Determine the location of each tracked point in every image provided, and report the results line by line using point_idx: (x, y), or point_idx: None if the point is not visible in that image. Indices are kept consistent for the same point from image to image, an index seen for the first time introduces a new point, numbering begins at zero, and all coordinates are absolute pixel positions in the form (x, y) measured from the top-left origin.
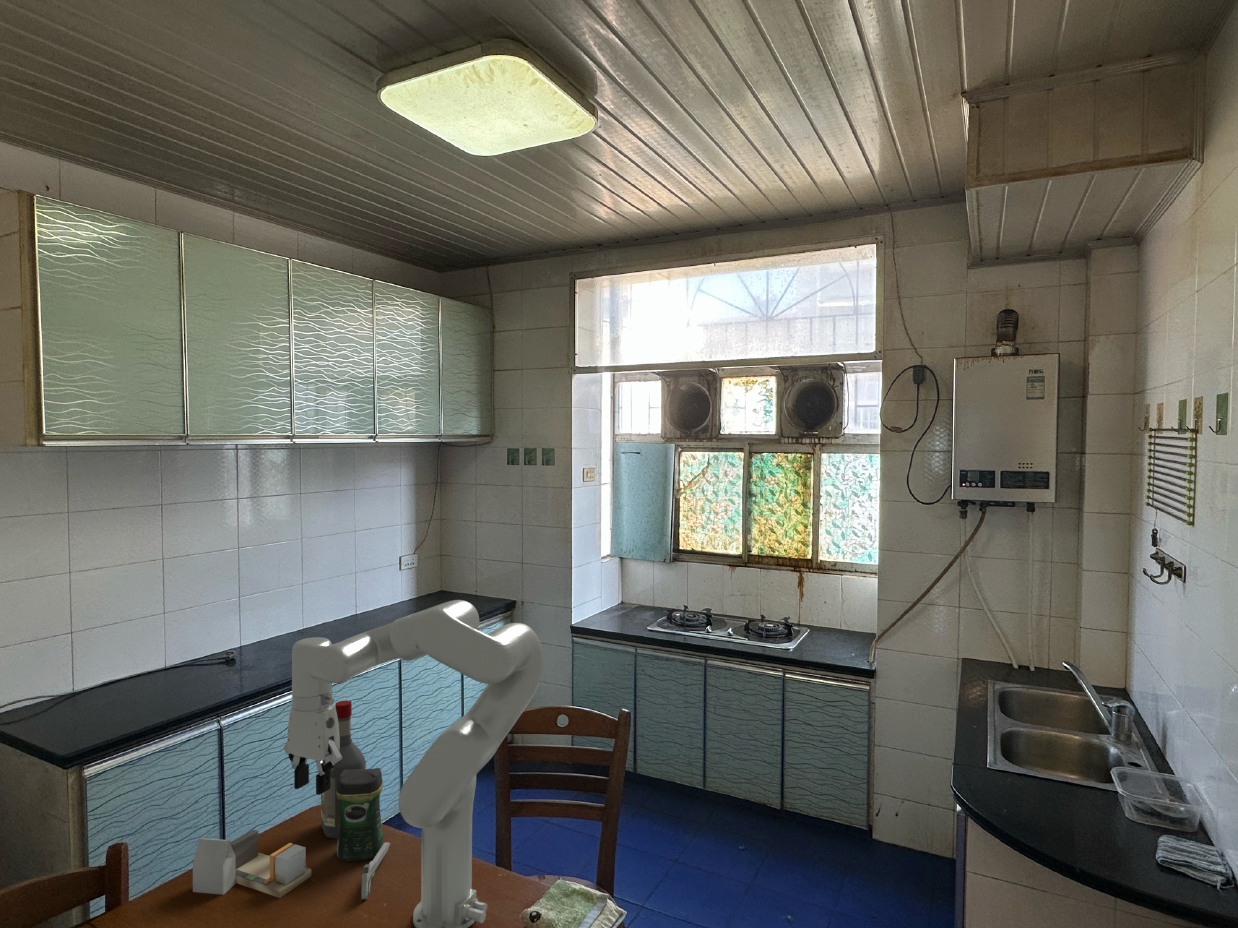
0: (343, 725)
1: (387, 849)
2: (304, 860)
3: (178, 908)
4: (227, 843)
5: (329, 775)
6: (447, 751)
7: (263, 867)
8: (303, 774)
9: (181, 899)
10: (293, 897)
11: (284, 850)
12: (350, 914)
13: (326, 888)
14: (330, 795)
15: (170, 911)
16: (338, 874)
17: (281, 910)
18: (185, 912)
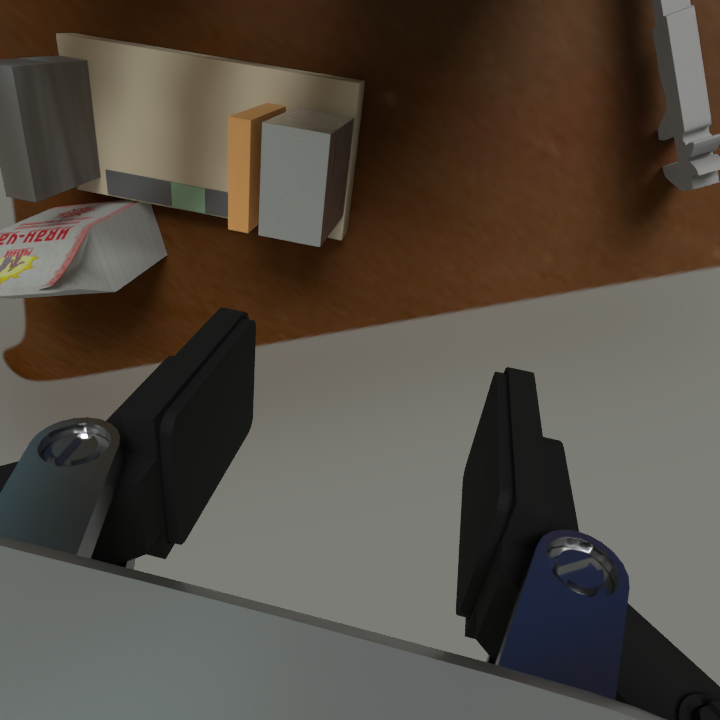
0: None
1: None
2: (343, 132)
3: (118, 331)
4: (57, 291)
5: (572, 523)
6: None
7: (174, 128)
8: (210, 437)
9: (86, 298)
10: (390, 219)
11: (251, 172)
12: (653, 257)
13: (477, 140)
14: None
15: (112, 344)
16: (471, 33)
17: (398, 285)
18: (150, 341)
